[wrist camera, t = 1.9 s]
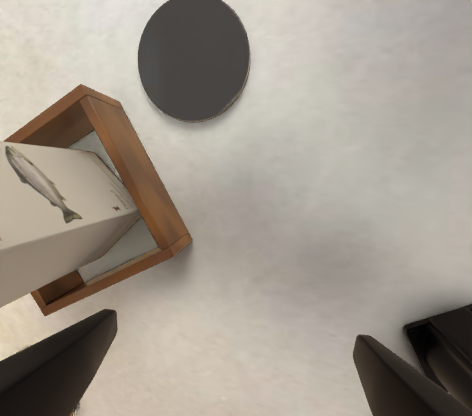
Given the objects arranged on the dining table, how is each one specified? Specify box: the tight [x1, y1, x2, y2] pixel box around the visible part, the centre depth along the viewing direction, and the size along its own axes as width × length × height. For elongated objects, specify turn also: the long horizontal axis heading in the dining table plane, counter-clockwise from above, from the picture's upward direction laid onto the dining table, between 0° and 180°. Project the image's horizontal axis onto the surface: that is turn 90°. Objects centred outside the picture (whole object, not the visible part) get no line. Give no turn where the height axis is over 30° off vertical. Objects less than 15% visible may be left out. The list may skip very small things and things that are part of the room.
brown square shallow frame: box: [3, 84, 192, 316], centre depth 19 cm, size 14×14×4 cm
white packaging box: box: [0, 141, 142, 308], centre depth 15 cm, size 7×7×13 cm
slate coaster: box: [138, 0, 250, 122], centre depth 17 cm, size 9×9×1 cm
